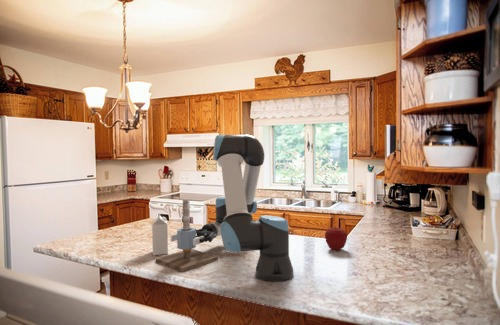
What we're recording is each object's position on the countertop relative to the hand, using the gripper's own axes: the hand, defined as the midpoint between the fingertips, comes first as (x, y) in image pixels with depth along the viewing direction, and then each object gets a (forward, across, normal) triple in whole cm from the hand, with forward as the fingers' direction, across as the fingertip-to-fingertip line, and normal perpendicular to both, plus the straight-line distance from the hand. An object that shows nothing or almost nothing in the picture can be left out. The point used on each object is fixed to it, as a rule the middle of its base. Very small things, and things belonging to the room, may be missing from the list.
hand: (182, 240), depth 145 cm
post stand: (-3, 0, -10) cm, 10 cm away
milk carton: (-5, +20, -10) cm, 23 cm away
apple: (-52, -54, -10) cm, 76 cm away
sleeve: (-3, 0, -4) cm, 5 cm away
